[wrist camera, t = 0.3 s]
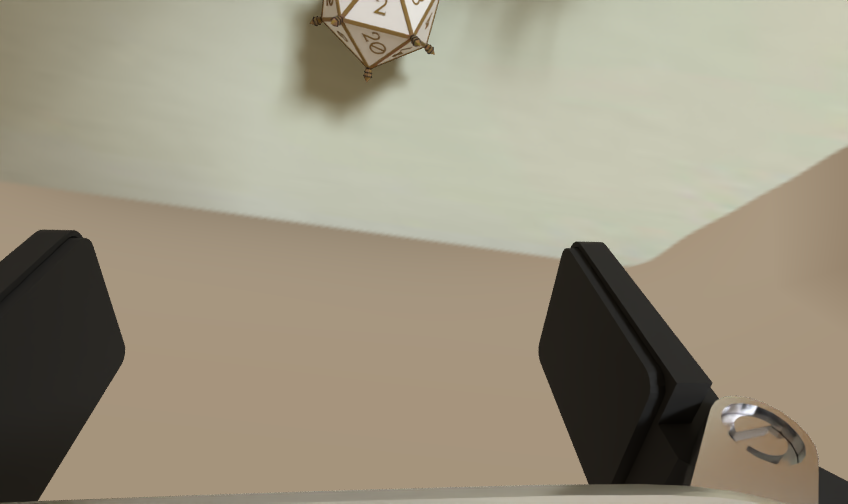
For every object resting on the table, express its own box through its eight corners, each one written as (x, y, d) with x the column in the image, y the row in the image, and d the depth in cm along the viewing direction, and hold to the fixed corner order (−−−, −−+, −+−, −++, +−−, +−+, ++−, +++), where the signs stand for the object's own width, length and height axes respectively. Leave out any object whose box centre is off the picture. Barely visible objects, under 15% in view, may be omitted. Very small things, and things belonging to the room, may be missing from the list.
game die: (405, 2, 38) (475, 80, 34) (303, 39, 36) (364, 128, 32) (397, -133, 30) (488, -54, 26) (267, -94, 28) (342, -1, 24)
